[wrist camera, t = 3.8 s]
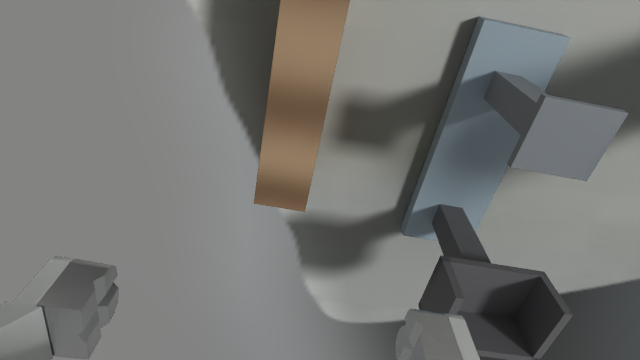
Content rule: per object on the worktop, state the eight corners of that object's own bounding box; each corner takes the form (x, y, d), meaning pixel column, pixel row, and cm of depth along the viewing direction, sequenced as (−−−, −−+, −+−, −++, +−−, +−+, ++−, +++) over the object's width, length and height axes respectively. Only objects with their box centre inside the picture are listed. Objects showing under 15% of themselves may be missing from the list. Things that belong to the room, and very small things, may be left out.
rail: (293, -42, 26) (285, -37, 21) (348, -30, 26) (354, -22, 21) (264, 162, 33) (253, 203, 28) (307, 169, 34) (304, 211, 28)
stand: (471, 14, 27) (574, 67, 16) (568, 35, 28) (733, 100, 17) (395, 225, 36) (427, 354, 25) (469, 238, 37) (532, 368, 26)
